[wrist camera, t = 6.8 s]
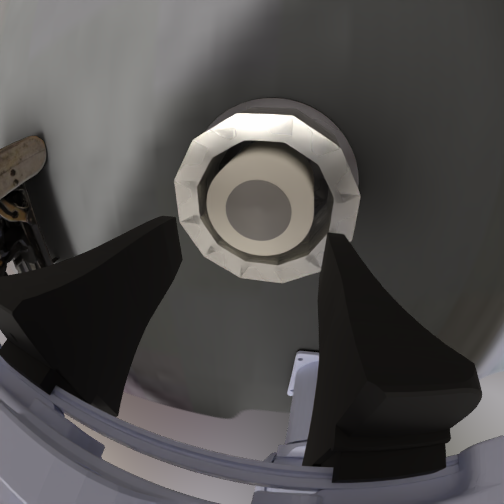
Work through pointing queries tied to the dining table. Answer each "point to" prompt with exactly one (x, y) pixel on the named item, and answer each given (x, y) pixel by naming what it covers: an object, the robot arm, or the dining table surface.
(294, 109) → the lens barrel
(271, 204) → the beige short cylinder
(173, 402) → the dining table surface
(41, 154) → the vintage camera
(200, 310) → the dining table surface
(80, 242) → the dining table surface
